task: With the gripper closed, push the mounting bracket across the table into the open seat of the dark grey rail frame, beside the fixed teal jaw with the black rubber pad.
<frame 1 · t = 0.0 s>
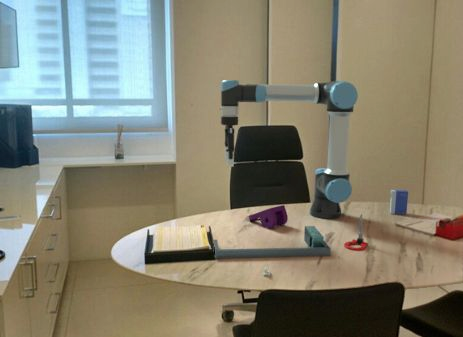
hand: (229, 163, 215), 28 cm above the table, tool pointing down, fingers open, 13 cm apart
rail: (267, 245, 193), on the table
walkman: (397, 213, 242), on the table
power adapter: (270, 277, 164), on the table
mounting bracket: (265, 224, 223), on the table
red ring with rod: (355, 247, 193), on the table
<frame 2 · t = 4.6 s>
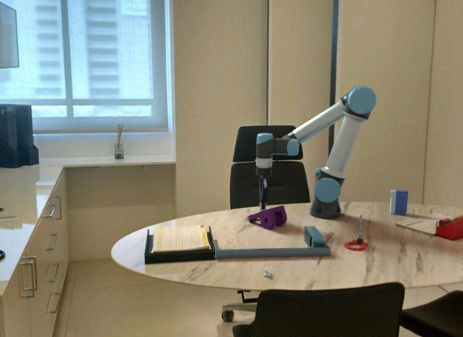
hand: (262, 215, 231), 1 cm above the table, tool pointing down, fingers closed
nothing on the table moved.
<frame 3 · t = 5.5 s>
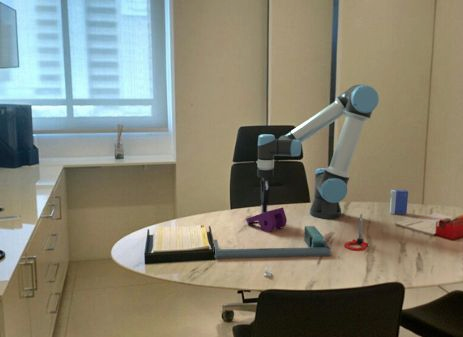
hand: (263, 217, 226), 2 cm above the table, tool pointing down, fingers closed
mounting bracket: (263, 227, 218), on the table, touching gripper
everything else where it was.
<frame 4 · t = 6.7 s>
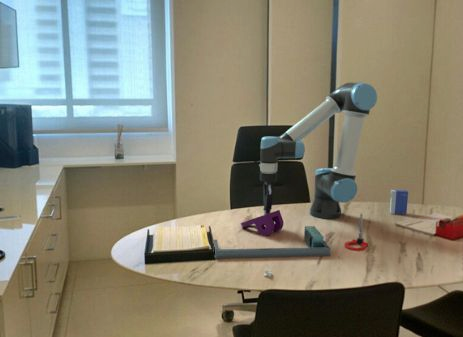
hand: (266, 223, 217), 2 cm above the table, tool pointing down, fingers closed
mounting bracket: (259, 230, 213), on the table
everything else where it was.
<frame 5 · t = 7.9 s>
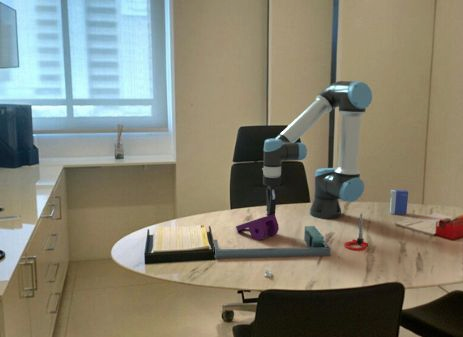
hand: (270, 229, 209), 2 cm above the table, tool pointing down, fingers closed
mounting bracket: (254, 234, 207), on the table, touching hand
everything else where it was.
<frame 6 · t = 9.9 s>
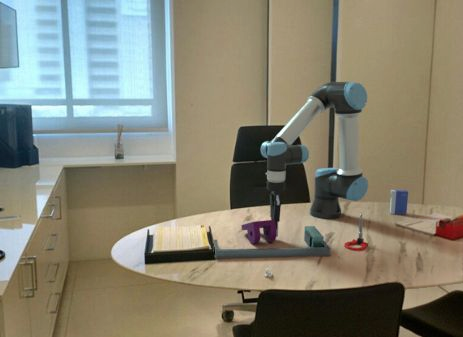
hand: (274, 236, 200), 1 cm above the table, tool pointing down, fingers closed
mounting bracket: (256, 237, 202), on the table, touching gripper, hand
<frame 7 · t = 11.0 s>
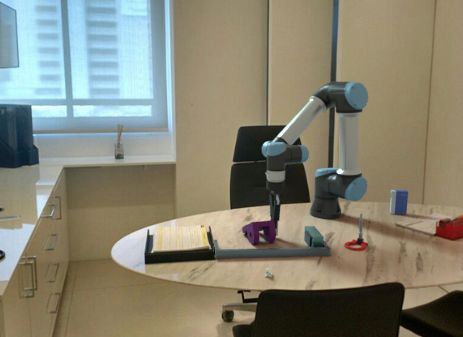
hand: (274, 235, 202), 1 cm above the table, tool pointing down, fingers closed
mounting bracket: (256, 239, 202), on the table
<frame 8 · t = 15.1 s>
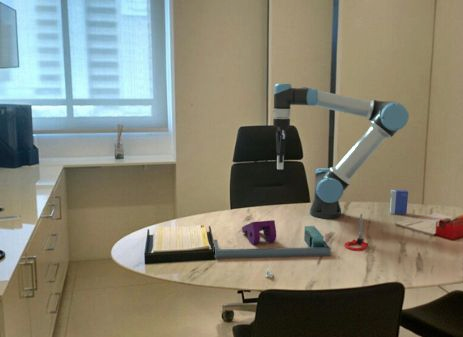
hand: (280, 169, 224), 24 cm above the table, tool pointing down, fingers closed
at the end: mounting bracket inside the target area (10.1 cm from its centre), on the table; mounting bracket moved 21.6 cm from its start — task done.
